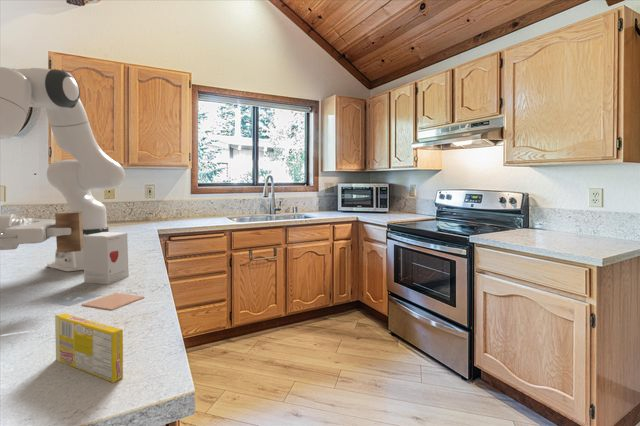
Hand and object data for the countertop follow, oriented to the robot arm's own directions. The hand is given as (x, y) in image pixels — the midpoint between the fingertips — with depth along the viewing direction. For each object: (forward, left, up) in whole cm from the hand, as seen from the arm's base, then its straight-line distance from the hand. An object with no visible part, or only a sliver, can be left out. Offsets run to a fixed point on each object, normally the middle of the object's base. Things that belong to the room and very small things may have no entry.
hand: (73, 229), depth 94 cm
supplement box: (-9, +16, -19) cm, 27 cm away
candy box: (+35, -25, -19) cm, 47 cm away
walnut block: (-1, -1, -5) cm, 6 cm away
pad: (+11, +1, -19) cm, 22 cm away
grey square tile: (-1, -1, -19) cm, 19 cm away
